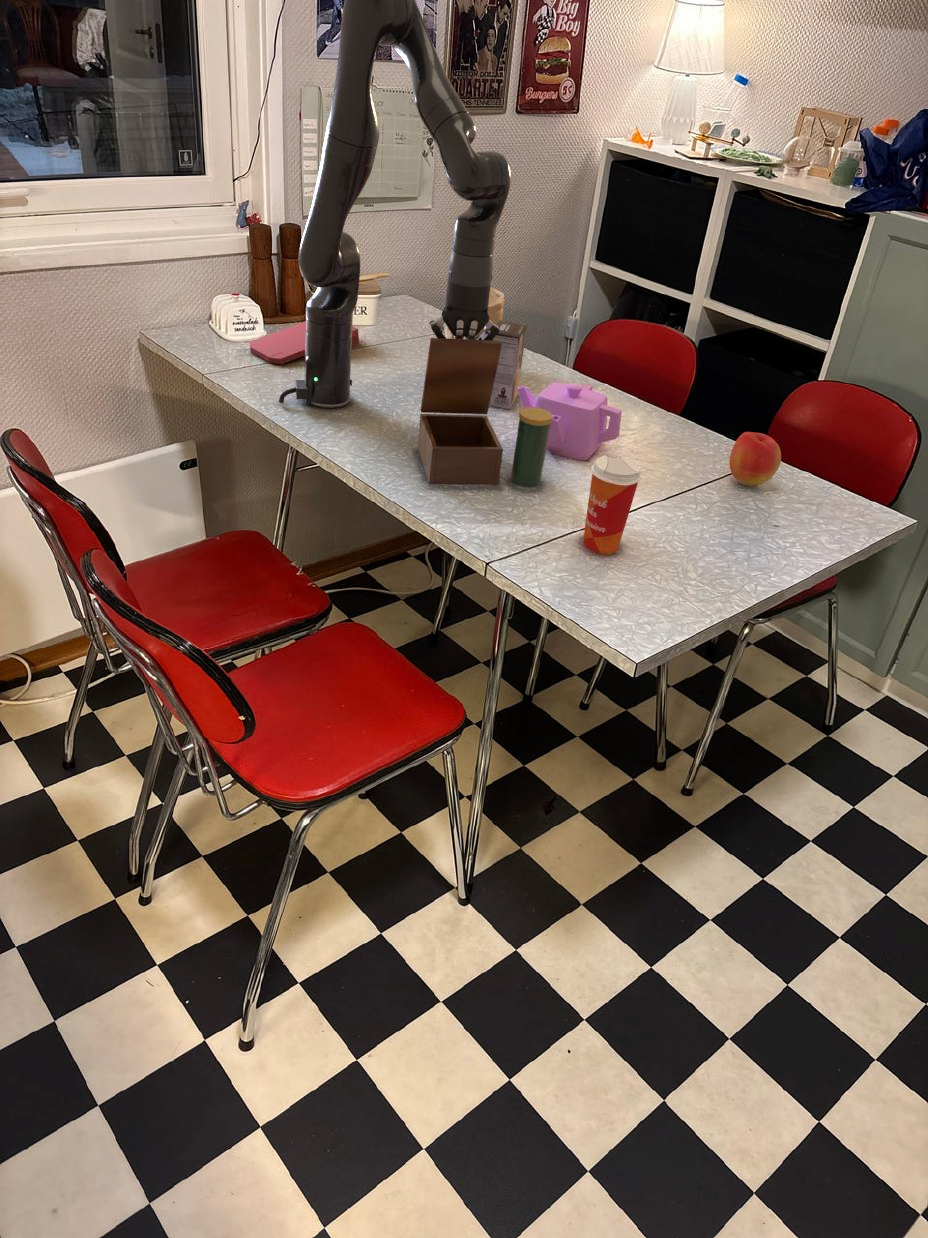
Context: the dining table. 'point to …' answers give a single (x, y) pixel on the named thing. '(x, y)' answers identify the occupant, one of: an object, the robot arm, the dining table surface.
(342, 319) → the robot arm
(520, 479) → the tea tin
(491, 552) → the dining table surface
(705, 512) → the dining table surface
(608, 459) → the coffee cup
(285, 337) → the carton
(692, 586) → the dining table surface
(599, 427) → the teakettle
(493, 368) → the chest lid
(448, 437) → the chest
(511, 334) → the coffee box
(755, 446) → the apple
